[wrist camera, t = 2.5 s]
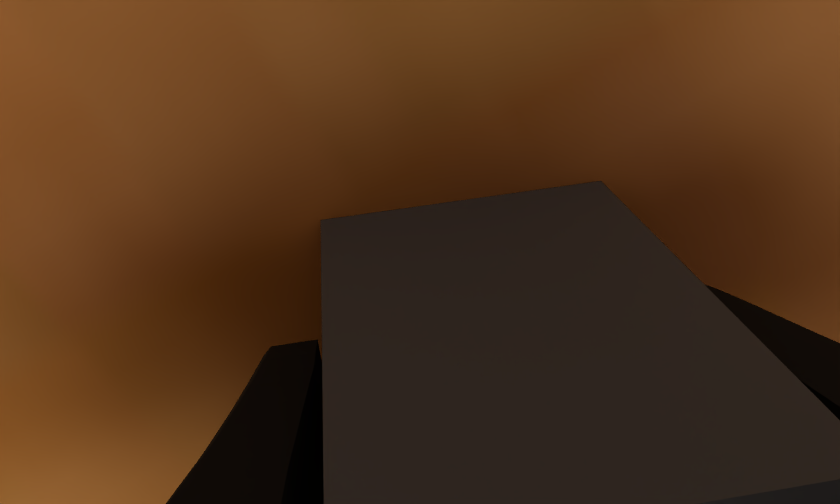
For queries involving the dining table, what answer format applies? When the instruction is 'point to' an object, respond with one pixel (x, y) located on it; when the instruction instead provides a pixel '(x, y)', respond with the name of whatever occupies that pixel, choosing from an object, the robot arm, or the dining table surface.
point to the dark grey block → (549, 365)
